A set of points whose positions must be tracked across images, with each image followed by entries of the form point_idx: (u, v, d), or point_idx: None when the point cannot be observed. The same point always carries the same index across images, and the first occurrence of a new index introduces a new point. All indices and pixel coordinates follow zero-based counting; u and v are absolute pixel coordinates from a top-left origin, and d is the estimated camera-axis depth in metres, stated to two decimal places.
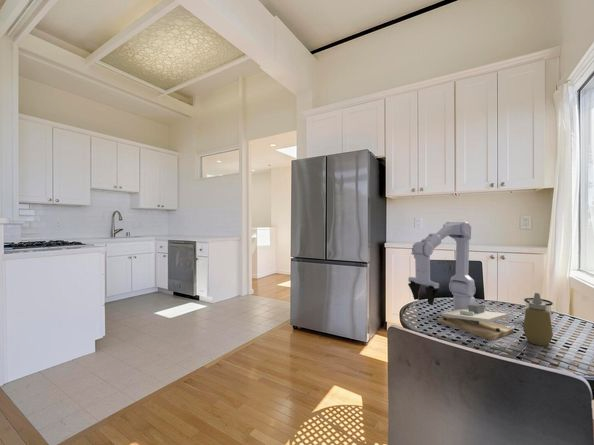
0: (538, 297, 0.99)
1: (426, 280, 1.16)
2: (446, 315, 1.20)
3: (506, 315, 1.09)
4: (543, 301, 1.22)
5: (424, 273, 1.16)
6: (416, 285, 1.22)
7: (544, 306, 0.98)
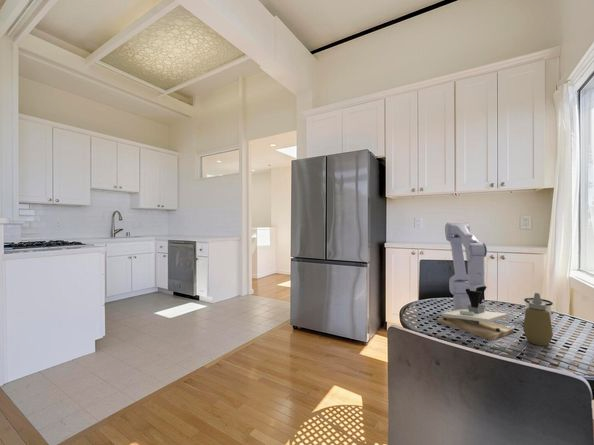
0: (538, 297, 0.99)
1: (472, 282, 1.12)
2: (446, 315, 1.20)
3: (506, 315, 1.09)
4: (543, 301, 1.22)
5: (470, 274, 1.13)
6: (478, 288, 1.16)
7: (544, 306, 0.98)
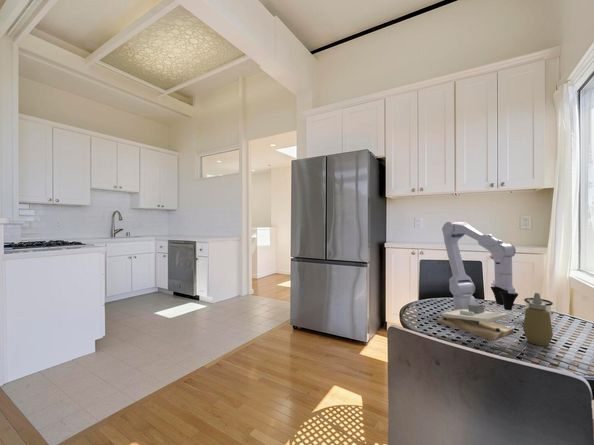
0: (538, 297, 0.99)
1: (503, 284, 1.09)
2: (446, 315, 1.20)
3: (506, 315, 1.09)
4: (543, 301, 1.22)
5: (500, 276, 1.10)
6: (500, 289, 1.15)
7: (544, 306, 0.98)
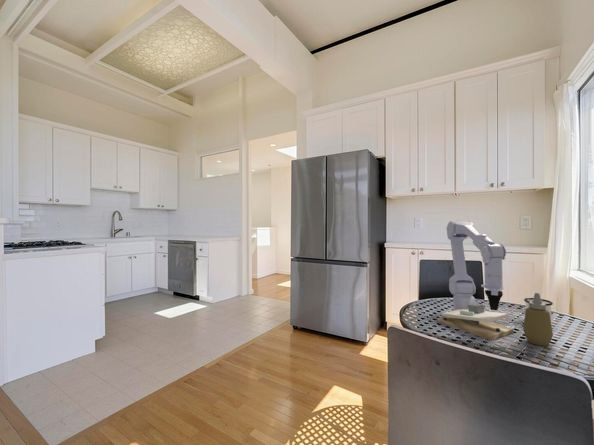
0: (538, 297, 0.99)
1: (491, 286, 1.07)
2: (446, 315, 1.20)
3: (506, 315, 1.09)
4: (543, 301, 1.22)
5: (488, 277, 1.07)
6: None
7: (544, 306, 0.98)
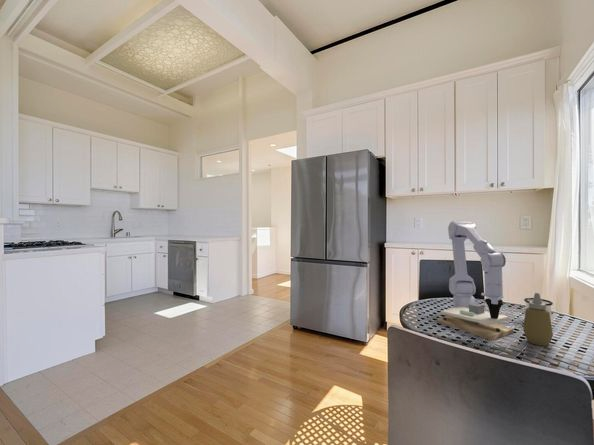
0: (538, 297, 0.99)
1: (491, 294, 1.06)
2: (445, 313, 1.20)
3: (506, 318, 1.09)
4: (543, 301, 1.22)
5: (488, 286, 1.07)
6: None
7: (544, 306, 0.98)
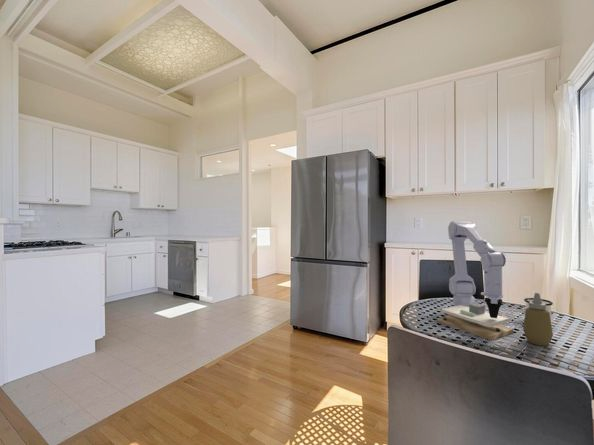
0: (538, 297, 0.99)
1: (490, 294, 1.07)
2: (445, 312, 1.20)
3: (507, 320, 1.09)
4: (543, 301, 1.22)
5: (488, 285, 1.07)
6: None
7: (544, 306, 0.98)
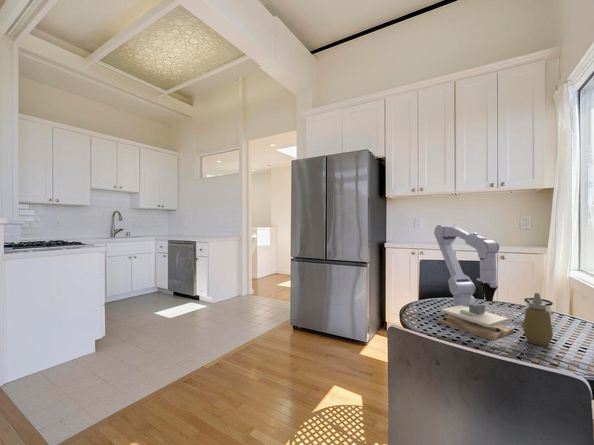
0: (538, 297, 0.99)
1: (487, 279, 1.14)
2: (445, 312, 1.20)
3: (507, 320, 1.09)
4: (543, 301, 1.22)
5: (484, 271, 1.15)
6: None
7: (544, 306, 0.98)
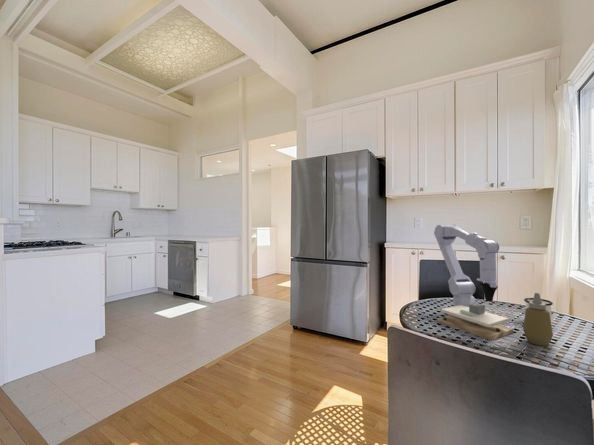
0: (538, 297, 0.99)
1: (487, 279, 1.14)
2: (445, 312, 1.20)
3: (507, 320, 1.09)
4: (543, 301, 1.22)
5: (484, 271, 1.15)
6: None
7: (544, 306, 0.98)
